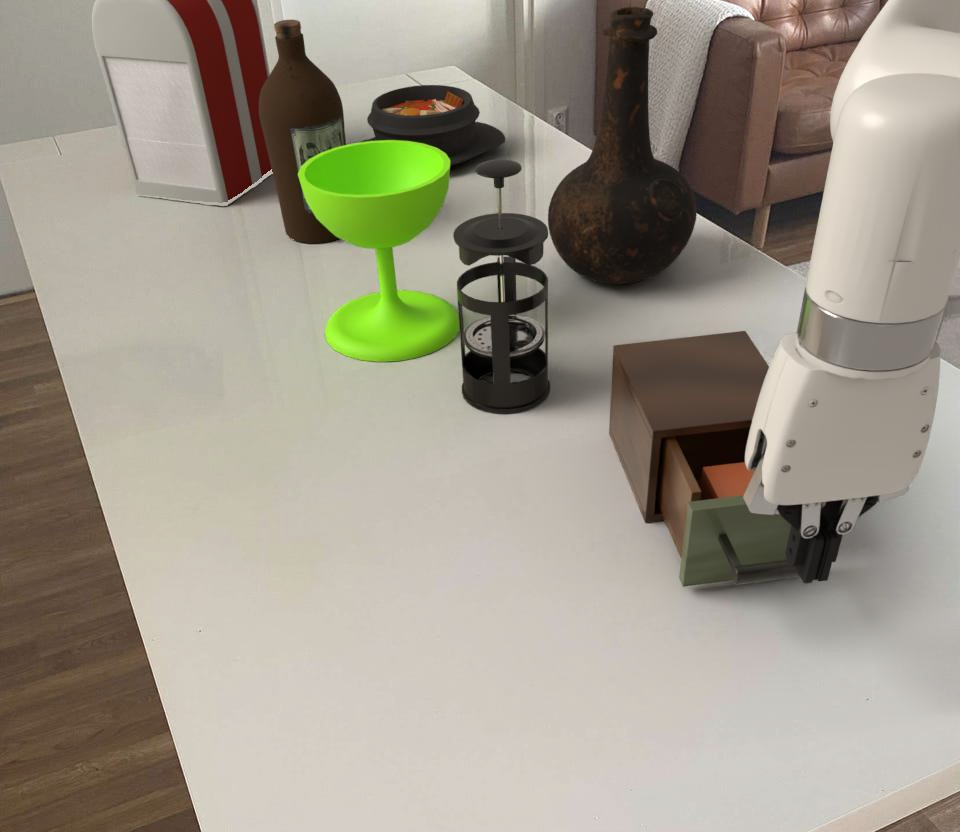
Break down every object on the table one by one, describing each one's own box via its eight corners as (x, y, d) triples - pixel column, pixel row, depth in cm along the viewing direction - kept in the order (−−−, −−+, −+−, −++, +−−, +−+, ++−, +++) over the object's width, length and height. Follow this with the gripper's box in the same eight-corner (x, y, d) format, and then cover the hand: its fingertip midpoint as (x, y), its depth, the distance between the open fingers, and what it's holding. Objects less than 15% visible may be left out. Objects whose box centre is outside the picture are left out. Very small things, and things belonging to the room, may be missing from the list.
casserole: (478, 126, 165) (476, 69, 159) (525, 163, 153) (524, 103, 147) (332, 154, 159) (324, 96, 153) (368, 194, 147) (360, 133, 141)
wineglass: (482, 341, 114) (474, 177, 102) (348, 374, 111) (322, 209, 98) (432, 284, 125) (419, 130, 112) (308, 313, 121) (280, 157, 109)
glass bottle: (612, 316, 117) (625, 45, 97) (518, 265, 128) (513, 12, 108) (721, 270, 124) (754, 9, 104) (623, 226, 135) (637, -19, 115)
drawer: (842, 613, 79) (864, 536, 74) (701, 631, 78) (712, 555, 73) (763, 475, 92) (777, 401, 87) (642, 489, 92) (648, 415, 86)
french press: (548, 417, 103) (548, 186, 86) (456, 417, 103) (439, 187, 87) (552, 359, 111) (553, 137, 95) (467, 359, 112) (453, 140, 96)
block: (748, 504, 88) (756, 460, 84) (766, 537, 84) (774, 492, 81) (696, 510, 87) (702, 466, 84) (712, 543, 84) (719, 499, 81)
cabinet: (782, 506, 91) (801, 413, 84) (645, 523, 90) (652, 431, 83) (732, 418, 101) (745, 330, 94) (608, 433, 100) (613, 345, 93)
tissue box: (133, 196, 151) (73, -15, 132) (199, 154, 162) (152, -45, 143) (227, 207, 146) (178, -9, 127) (288, 163, 157) (252, -42, 138)
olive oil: (268, 228, 140) (228, 23, 122) (334, 207, 144) (305, 6, 126) (304, 253, 133) (267, 40, 116) (372, 231, 137) (347, 22, 120)
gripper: (962, 282, 60) (888, 524, 73) (719, 307, 59) (687, 548, 72) (1026, 342, 55) (934, 592, 68) (761, 370, 54) (718, 619, 67)
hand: (807, 569), depth 70 cm, fingers closed
